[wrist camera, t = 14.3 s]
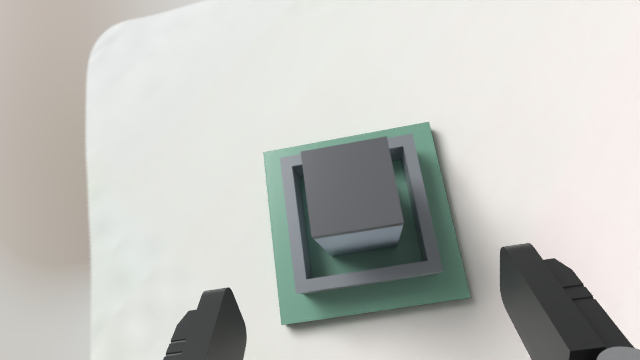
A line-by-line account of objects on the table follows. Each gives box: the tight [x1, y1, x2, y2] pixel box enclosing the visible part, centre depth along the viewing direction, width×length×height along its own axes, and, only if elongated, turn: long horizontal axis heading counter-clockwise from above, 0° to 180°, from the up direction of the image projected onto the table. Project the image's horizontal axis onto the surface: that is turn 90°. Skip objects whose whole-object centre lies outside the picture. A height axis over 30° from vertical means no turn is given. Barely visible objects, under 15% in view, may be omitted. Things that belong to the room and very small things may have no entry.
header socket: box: [263, 122, 471, 325], centre depth 23 cm, size 10×10×3 cm
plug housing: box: [301, 136, 404, 256], centre depth 20 cm, size 4×4×7 cm
